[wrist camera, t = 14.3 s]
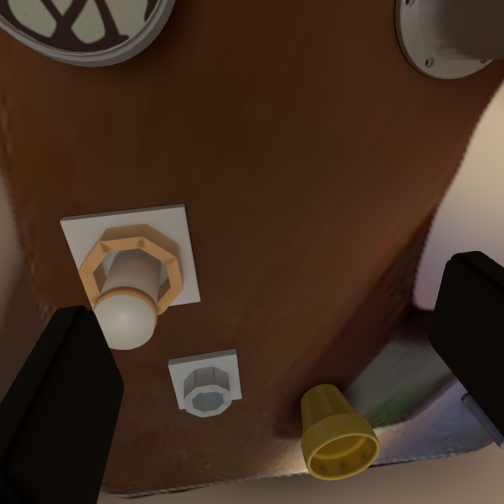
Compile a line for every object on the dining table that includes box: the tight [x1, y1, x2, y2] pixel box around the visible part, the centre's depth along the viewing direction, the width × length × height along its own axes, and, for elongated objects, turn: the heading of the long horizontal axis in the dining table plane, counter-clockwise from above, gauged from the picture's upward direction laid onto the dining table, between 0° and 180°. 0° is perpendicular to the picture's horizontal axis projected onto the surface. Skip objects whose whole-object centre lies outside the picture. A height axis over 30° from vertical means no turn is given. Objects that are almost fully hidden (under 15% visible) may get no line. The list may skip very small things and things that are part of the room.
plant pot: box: [301, 384, 380, 480], centre depth 50 cm, size 10×10×10 cm
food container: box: [0, 0, 175, 67], centre depth 23 cm, size 12×6×10 cm, turn 117°
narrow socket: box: [168, 349, 242, 417], centre depth 46 cm, size 9×9×4 cm
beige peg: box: [93, 248, 161, 350], centre depth 32 cm, size 5×5×10 cm
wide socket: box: [60, 204, 200, 315], centre depth 36 cm, size 12×12×4 cm
